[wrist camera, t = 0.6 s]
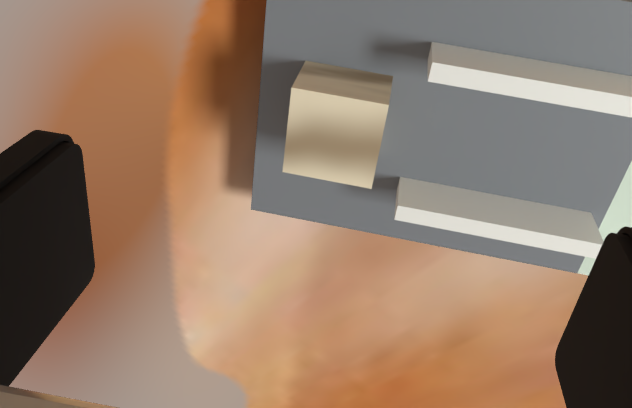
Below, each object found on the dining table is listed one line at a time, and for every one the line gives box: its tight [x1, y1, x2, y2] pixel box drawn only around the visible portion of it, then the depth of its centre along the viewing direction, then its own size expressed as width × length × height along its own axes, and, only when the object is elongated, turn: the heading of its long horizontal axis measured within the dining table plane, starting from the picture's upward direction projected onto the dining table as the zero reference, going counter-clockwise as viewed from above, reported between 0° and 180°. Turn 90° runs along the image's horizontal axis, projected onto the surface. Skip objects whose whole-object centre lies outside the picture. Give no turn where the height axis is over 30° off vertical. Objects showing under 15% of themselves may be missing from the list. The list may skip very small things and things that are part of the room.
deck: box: [251, 0, 632, 275], centre depth 40 cm, size 20×45×7 cm, turn 83°
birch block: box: [282, 61, 393, 189], centre depth 39 cm, size 6×6×5 cm
